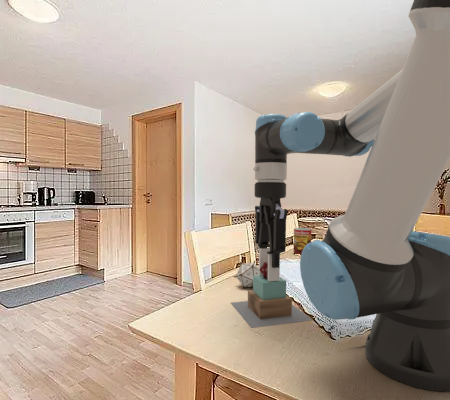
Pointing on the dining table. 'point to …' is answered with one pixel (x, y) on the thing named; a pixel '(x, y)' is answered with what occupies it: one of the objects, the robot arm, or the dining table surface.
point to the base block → (269, 306)
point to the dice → (264, 270)
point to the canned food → (301, 239)
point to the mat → (256, 322)
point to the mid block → (269, 288)
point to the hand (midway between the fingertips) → (268, 276)
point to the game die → (247, 274)
